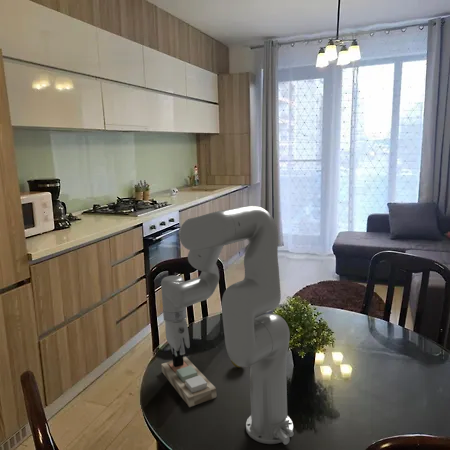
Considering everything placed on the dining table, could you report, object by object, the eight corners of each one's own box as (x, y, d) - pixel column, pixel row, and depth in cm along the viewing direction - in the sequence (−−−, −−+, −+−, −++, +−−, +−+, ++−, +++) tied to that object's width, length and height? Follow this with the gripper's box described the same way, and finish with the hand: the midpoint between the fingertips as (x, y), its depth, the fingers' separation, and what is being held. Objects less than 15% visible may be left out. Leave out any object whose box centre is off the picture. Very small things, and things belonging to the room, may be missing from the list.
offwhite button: (207, 390, 125) (206, 382, 125) (192, 396, 123) (191, 387, 123) (200, 383, 130) (199, 375, 129) (185, 387, 127) (185, 379, 127)
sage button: (197, 380, 131) (197, 372, 131) (183, 384, 129) (182, 377, 129) (191, 372, 136) (190, 365, 135) (177, 377, 133) (176, 369, 133)
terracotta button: (189, 373, 138) (188, 366, 137) (175, 378, 135) (174, 370, 135) (183, 367, 142) (182, 359, 142) (169, 371, 140) (168, 364, 139)
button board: (216, 397, 125) (216, 388, 124) (189, 407, 121) (188, 397, 120) (186, 364, 145) (185, 356, 144) (162, 371, 141) (161, 363, 140)
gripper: (194, 318, 130) (197, 371, 134) (176, 304, 143) (180, 352, 147) (172, 324, 127) (176, 378, 130) (156, 308, 140) (160, 358, 143)
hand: (178, 364), depth 138 cm, fingers closed
